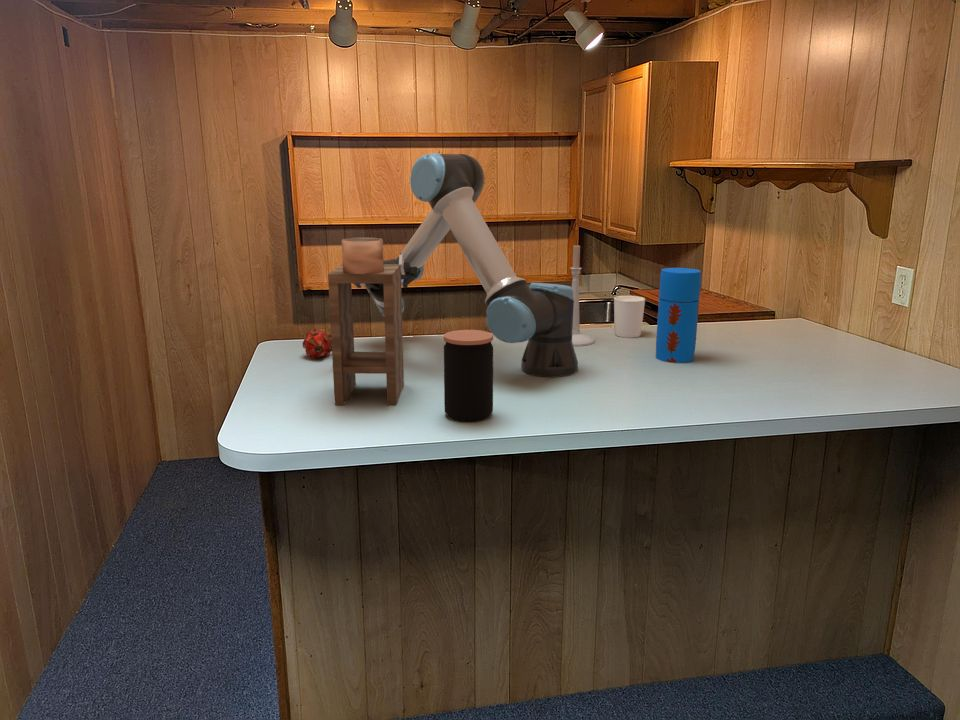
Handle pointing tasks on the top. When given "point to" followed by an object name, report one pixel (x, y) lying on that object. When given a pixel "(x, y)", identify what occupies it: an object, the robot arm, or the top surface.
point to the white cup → (628, 316)
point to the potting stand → (343, 334)
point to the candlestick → (577, 303)
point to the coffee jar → (468, 375)
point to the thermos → (677, 314)
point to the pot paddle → (362, 255)
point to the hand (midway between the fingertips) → (373, 259)
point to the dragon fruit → (317, 343)
